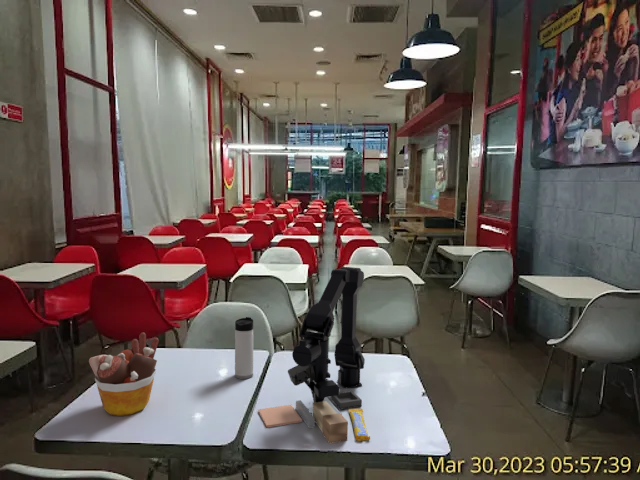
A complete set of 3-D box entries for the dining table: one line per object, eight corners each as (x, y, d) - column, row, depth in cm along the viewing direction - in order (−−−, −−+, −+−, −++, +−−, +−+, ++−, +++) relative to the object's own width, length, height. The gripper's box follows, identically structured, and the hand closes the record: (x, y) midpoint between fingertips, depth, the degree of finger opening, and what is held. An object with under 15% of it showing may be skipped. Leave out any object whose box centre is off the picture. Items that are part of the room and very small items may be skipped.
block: (339, 431, 122) (340, 413, 122) (347, 440, 118) (347, 421, 117) (322, 434, 120) (322, 415, 120) (329, 443, 116) (329, 424, 115)
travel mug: (256, 373, 161) (257, 317, 159) (247, 380, 155) (248, 322, 153) (241, 371, 163) (241, 316, 161) (231, 377, 157) (231, 320, 155)
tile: (291, 406, 136) (291, 404, 136) (301, 421, 127) (302, 419, 127) (258, 411, 132) (258, 409, 132) (266, 427, 123) (266, 425, 123)
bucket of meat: (131, 426, 122) (130, 354, 121) (78, 419, 126) (76, 348, 124) (171, 396, 142) (171, 333, 140) (124, 390, 145) (123, 328, 144)
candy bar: (371, 444, 117) (371, 437, 117) (354, 443, 117) (355, 436, 116) (362, 413, 134) (362, 407, 133) (348, 413, 133) (348, 407, 133)
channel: (325, 404, 138) (326, 396, 138) (341, 422, 127) (341, 414, 126) (295, 409, 134) (295, 400, 134) (309, 428, 123) (309, 419, 123)
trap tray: (351, 396, 144) (351, 390, 143) (361, 406, 137) (361, 399, 137) (331, 399, 141) (331, 393, 141) (340, 409, 135) (340, 403, 134)
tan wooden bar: (325, 416, 130) (326, 400, 130) (337, 431, 122) (338, 415, 122) (312, 418, 129) (312, 402, 129) (323, 433, 121) (324, 417, 120)
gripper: (281, 347, 135) (281, 398, 137) (301, 369, 118) (300, 427, 119) (317, 343, 139) (316, 393, 141) (341, 365, 122) (339, 421, 123)
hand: (317, 407), depth 131 cm, fingers closed
